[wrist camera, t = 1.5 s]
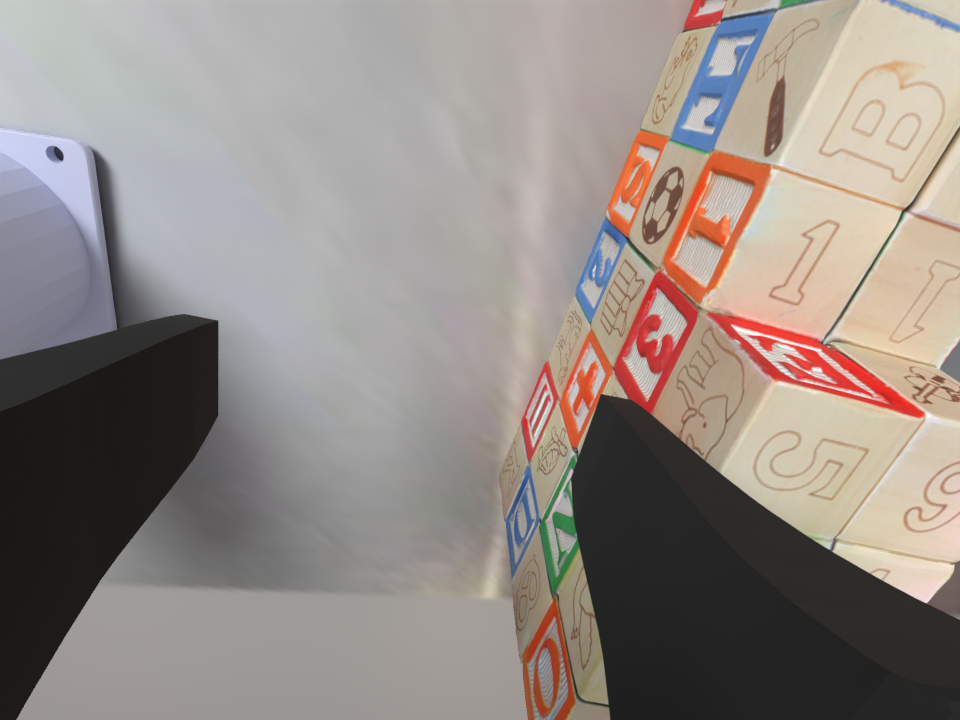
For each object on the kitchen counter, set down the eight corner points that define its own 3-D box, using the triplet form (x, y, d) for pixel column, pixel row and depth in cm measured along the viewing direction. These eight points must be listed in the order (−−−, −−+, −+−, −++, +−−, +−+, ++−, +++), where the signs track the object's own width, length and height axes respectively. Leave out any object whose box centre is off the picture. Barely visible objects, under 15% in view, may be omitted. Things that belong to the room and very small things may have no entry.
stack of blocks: (719, -91, 16) (1274, -446, 5) (898, -15, 17) (1673, -178, 6) (496, 476, 25) (530, 784, 14) (623, 504, 26) (746, 810, 15)
